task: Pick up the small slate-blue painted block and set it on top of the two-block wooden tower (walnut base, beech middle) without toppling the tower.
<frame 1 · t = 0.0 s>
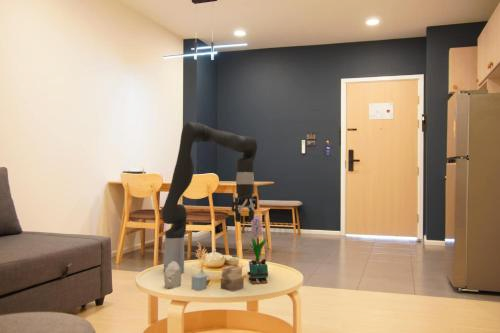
hand: (244, 220, 187), 29 cm above the table, tool pointing down, fingers open, 8 cm apart
green toy vehicle: (257, 281, 200), on the table
beech block: (232, 278, 189), point 4 cm above the table
stone: (173, 286, 191), on the table
hyacinth: (258, 277, 208), on the table
slate block: (199, 288, 188), on the table
walnut base: (232, 288, 189), on the table
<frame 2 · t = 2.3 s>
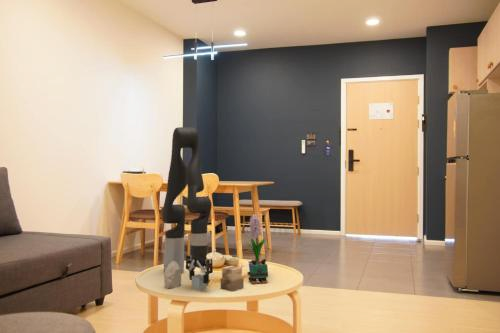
hand: (198, 281, 187), 3 cm above the table, tool pointing down, fingers open, 8 cm apart
beech block: (231, 278, 189), point 4 cm above the table, touching walnut base
walnut base: (232, 288, 189), on the table, touching beech block
everything else where it was.
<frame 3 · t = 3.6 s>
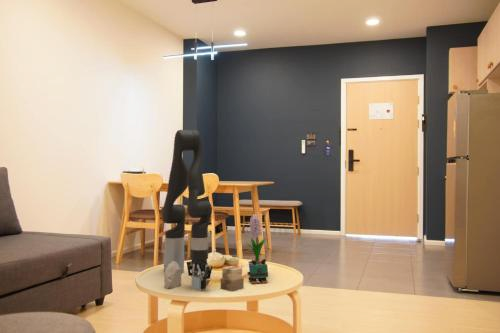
hand: (199, 287, 188), 1 cm above the table, tool pointing down, fingers closed on slate block, 4 cm apart
slate block: (199, 288, 188), on the table, touching gripper
everything else where it was.
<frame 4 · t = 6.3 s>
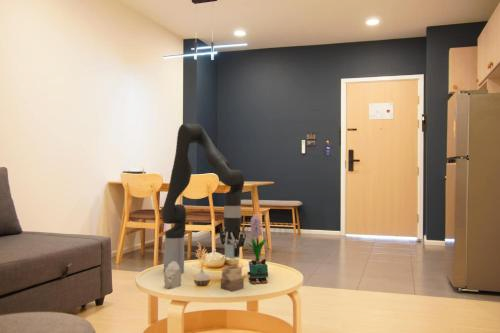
hand: (232, 255, 189), 14 cm above the table, tool pointing down, fingers closed on slate block, 4 cm apart
slate block: (232, 256, 189), point 13 cm above the table, touching gripper
everything else where it was.
when the fingers open (10 cm above the table, at t = 7.9 s): slate block stays where it is, resting on beech block.
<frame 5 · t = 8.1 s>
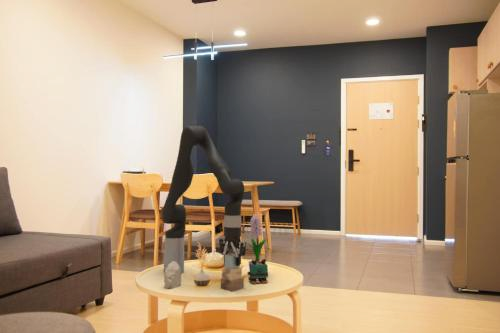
hand: (232, 264, 189), 10 cm above the table, tool pointing down, fingers open, 6 cm apart
beech block: (231, 278, 189), point 4 cm above the table, touching slate block, walnut base
slate block: (232, 267, 189), point 9 cm above the table, touching beech block
everything else where it was.
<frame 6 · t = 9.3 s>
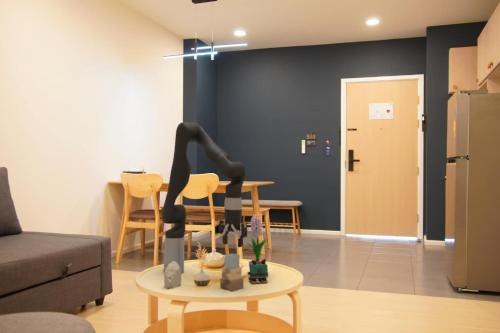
hand: (232, 245, 189), 18 cm above the table, tool pointing down, fingers open, 8 cm apart
nothing on the table moved.
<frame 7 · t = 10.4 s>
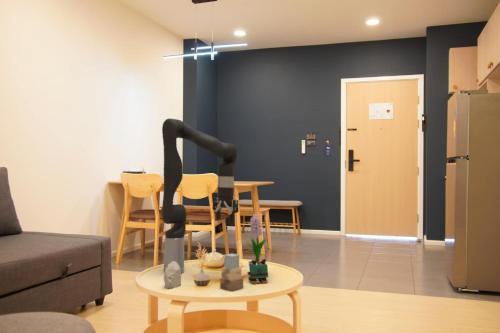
hand: (225, 220, 204), 27 cm above the table, tool pointing down, fingers open, 8 cm apart
nothing on the table moved.
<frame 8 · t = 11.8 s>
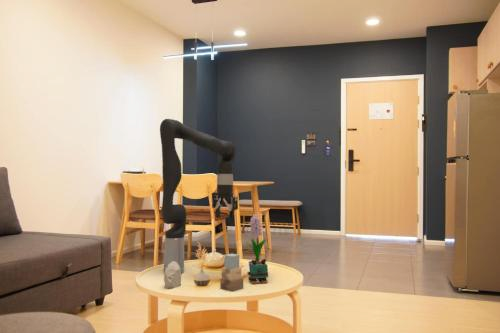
hand: (224, 218, 205), 28 cm above the table, tool pointing down, fingers open, 8 cm apart
nothing on the table moved.
at the end: slate block 0.2 cm off-centre on the beech block, point 4.5 cm above the beech block's base; beech block tilted 0°; walnut base moved 0.3 cm from its start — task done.
